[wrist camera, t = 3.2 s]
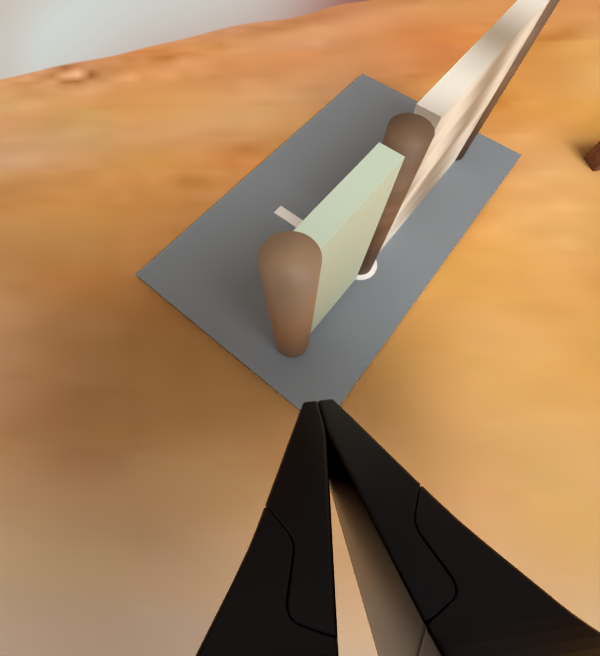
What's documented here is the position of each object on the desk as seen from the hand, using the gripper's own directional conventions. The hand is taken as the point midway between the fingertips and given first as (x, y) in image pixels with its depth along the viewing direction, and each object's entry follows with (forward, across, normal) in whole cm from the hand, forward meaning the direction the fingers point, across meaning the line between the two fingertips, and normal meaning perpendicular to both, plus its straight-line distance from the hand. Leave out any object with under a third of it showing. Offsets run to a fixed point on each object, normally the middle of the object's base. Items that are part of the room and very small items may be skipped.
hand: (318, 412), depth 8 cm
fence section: (+14, -8, -4) cm, 17 cm away
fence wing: (+9, -1, +1) cm, 9 cm away
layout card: (+14, -4, -4) cm, 15 cm away
